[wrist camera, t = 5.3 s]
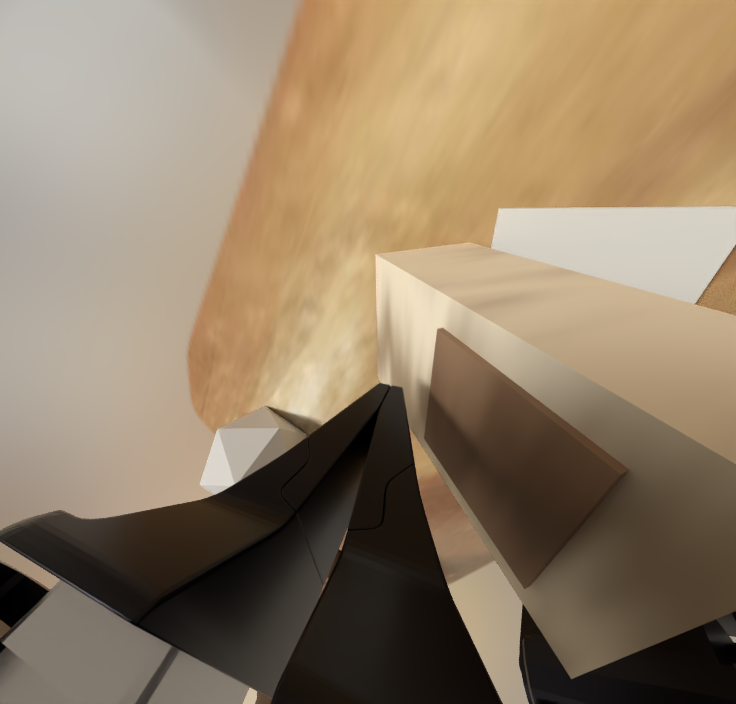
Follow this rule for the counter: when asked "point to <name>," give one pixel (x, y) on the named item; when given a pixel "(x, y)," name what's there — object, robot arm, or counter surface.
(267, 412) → the die
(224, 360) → the counter surface
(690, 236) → the mat
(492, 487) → the birch block
